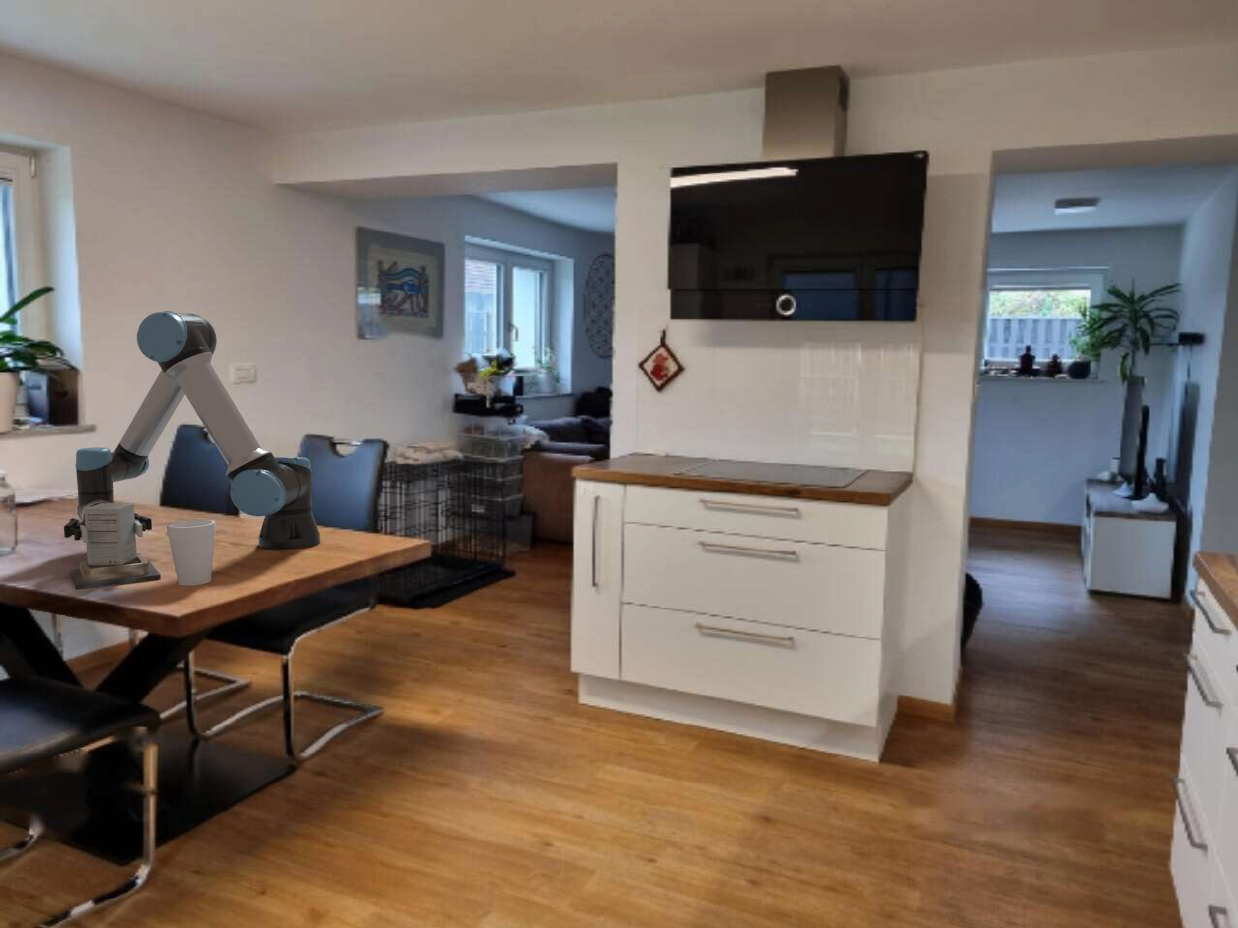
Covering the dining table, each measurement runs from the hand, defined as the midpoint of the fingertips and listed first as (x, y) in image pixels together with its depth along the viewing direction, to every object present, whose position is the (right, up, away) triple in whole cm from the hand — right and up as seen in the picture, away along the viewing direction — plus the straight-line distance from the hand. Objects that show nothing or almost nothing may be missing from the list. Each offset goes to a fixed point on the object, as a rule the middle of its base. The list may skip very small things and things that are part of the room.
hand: (113, 533), depth 188 cm
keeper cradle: (-3, -10, +5) cm, 11 cm away
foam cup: (+17, -11, +1) cm, 20 cm away
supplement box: (-3, -7, +4) cm, 8 cm away
